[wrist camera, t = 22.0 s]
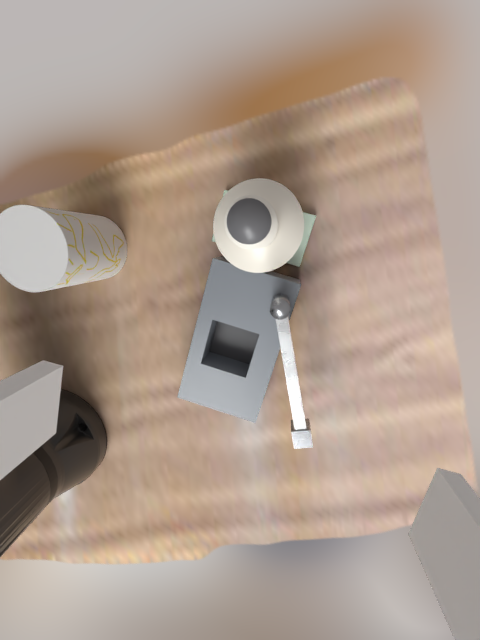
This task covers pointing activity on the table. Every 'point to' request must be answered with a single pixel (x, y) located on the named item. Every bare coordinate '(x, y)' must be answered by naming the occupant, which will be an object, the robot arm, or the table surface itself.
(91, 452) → the robot arm
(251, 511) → the table surface
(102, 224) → the cup
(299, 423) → the record player tonearm
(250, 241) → the plug
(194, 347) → the socket block
